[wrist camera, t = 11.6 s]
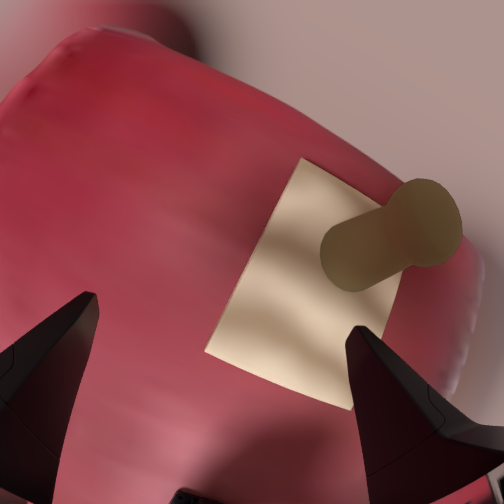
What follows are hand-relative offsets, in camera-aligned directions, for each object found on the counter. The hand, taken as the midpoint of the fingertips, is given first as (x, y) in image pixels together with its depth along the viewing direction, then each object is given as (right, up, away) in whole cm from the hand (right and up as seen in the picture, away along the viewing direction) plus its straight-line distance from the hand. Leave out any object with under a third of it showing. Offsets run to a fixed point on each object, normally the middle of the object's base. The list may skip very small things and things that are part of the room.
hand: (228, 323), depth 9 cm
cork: (+9, +2, +15) cm, 17 cm away
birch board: (+7, 0, +15) cm, 16 cm away
